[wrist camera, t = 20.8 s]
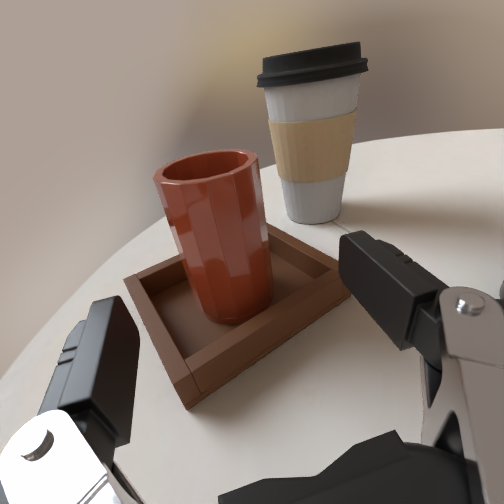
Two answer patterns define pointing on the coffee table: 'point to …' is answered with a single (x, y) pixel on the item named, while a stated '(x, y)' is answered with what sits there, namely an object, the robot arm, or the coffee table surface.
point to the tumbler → (220, 231)
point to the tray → (232, 335)
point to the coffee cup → (313, 125)
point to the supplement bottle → (502, 291)
